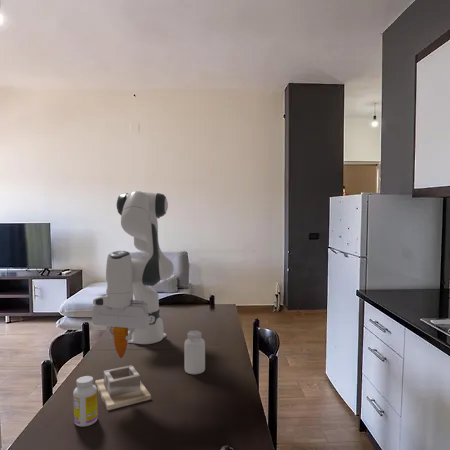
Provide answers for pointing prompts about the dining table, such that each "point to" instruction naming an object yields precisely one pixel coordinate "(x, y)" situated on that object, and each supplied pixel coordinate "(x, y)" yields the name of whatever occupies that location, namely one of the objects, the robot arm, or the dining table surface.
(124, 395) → the anchor plate
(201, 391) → the dining table surface
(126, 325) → the robot arm
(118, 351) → the carrot
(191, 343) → the pill bottle
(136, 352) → the dining table surface
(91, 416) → the supplement bottle
